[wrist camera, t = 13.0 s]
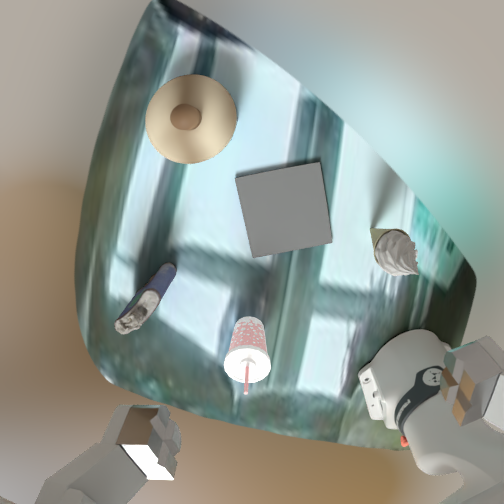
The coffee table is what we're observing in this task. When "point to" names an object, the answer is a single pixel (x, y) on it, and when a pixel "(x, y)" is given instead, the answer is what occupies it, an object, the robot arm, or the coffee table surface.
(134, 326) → the flask
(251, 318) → the beverage cup
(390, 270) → the ice cream cone
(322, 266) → the coffee table surface
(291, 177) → the mat
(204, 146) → the lid
